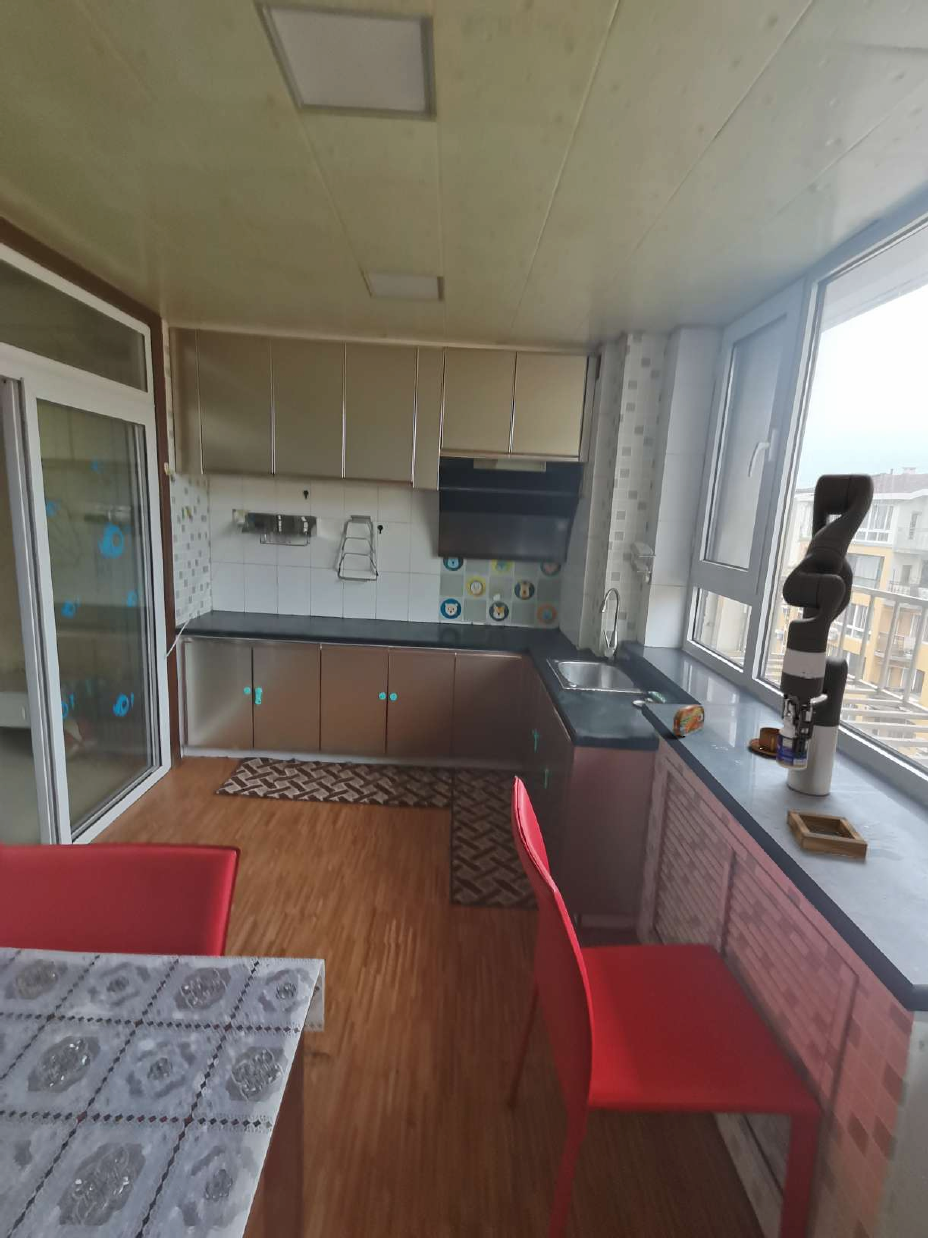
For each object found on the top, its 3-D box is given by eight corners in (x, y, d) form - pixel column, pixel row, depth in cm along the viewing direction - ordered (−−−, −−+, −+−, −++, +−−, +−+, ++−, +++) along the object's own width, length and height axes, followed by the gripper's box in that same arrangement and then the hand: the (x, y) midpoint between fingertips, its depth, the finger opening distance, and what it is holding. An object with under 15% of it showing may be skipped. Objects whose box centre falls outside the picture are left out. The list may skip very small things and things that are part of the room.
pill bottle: (779, 757, 127) (784, 713, 126) (809, 765, 124) (815, 719, 122) (772, 765, 123) (777, 719, 121) (803, 773, 119) (809, 726, 118)
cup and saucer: (802, 762, 161) (805, 741, 160) (755, 758, 163) (757, 736, 162) (787, 746, 173) (790, 726, 172) (743, 742, 175) (746, 722, 174)
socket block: (786, 823, 127) (788, 810, 127) (843, 830, 125) (845, 817, 124) (803, 850, 117) (805, 836, 116) (865, 858, 114) (867, 844, 114)
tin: (679, 740, 175) (682, 712, 174) (670, 737, 178) (672, 710, 176) (704, 729, 185) (706, 703, 184) (694, 726, 187) (697, 701, 186)
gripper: (773, 661, 128) (765, 735, 131) (792, 678, 114) (782, 760, 117) (812, 664, 126) (802, 739, 129) (836, 682, 112) (824, 765, 115)
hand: (793, 749), depth 123 cm, fingers closed on pill bottle, 5 cm apart
